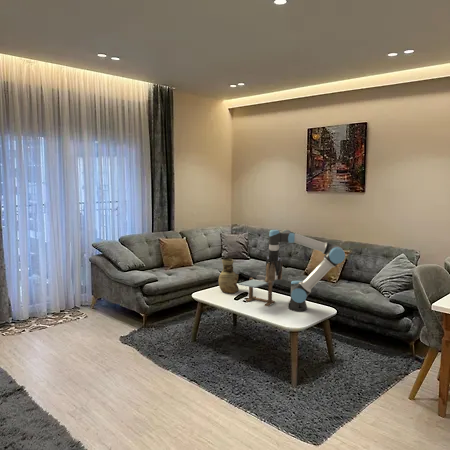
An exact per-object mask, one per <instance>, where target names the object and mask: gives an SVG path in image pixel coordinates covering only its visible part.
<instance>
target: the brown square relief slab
mask: <svg viewBox="0 0 450 450" xmlns="http://www.w3.org/2000/svg"><path fill="white" fill-rule="evenodd" d="M277 263H278V262H277ZM275 271H276V268H275V263H274V262H272V264H271V266H270V262H269V263H268V264H267V266H266V265H265V276H266V279H265V282H266V283H268V282H269V281H274V282H275V281H279V280H280V281H281V280H283V262H282V261H281V271H279V272H278V276H277V280H275Z"/></svg>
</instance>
